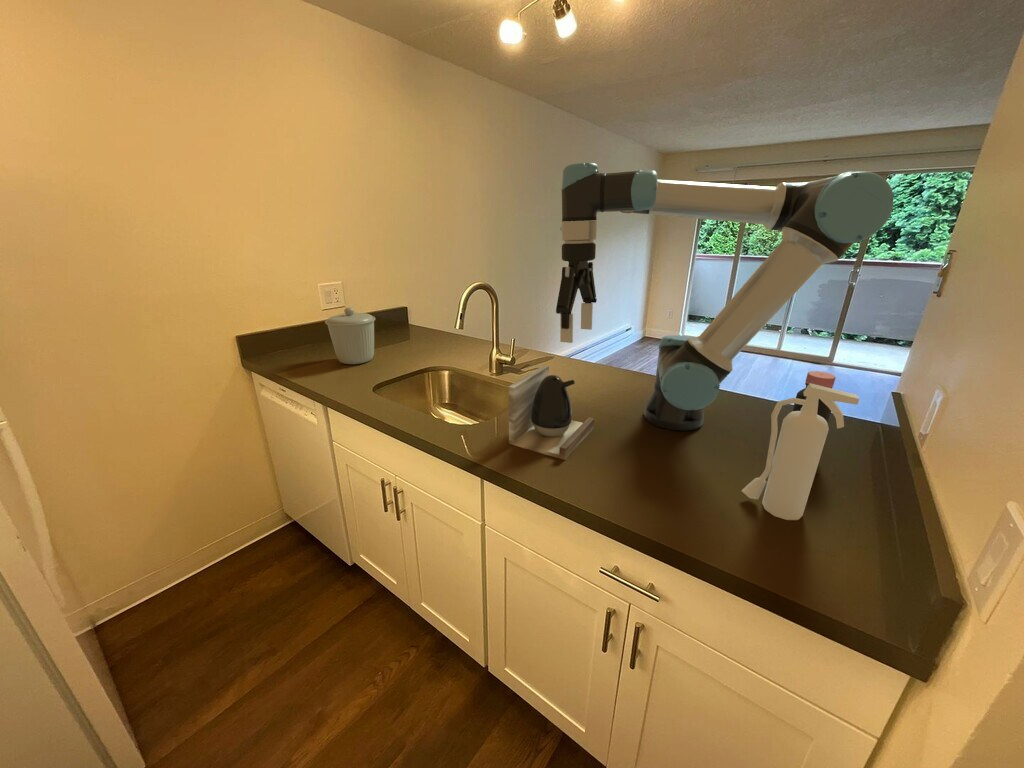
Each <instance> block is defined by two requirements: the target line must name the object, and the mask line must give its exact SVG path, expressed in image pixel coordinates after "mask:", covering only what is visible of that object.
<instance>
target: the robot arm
mask: <svg viewBox="0 0 1024 768" xmlns="http://www.w3.org/2000/svg"><path fill="white" fill-rule="evenodd" d="M894 203H895V202H894V193H893V189H892V186H891V185H890V184H889V182H888V181H887V180H886V179H885V178H884V177H882V176H881V175H880V174H877V173H875V172H871V171H859V170H858V171H857V170H854V171H853V170H851V171H845V172H843V173H841V174H838V175H836V176H831V177H826V178H825V177H824V178H822V179H818V180H817V179H816V180H812V181H806V182H804V181H803V182H780V183H779V184H777V185H776V186H763V185H762V186H760V185H749V184H748V185H747V184H746V185H745V184H732V183H719V182H718V183H717V182H703V181H702V182H701V181H686V180H685V181H684V180H673V179H672V180H671V179H670V180H669V179H658V173H657V171H656V170H654V169H653V170H650V169H649V170H645V169H644V170H642V169H638V170H632V171H631V170H629V171H620V172H609V173H603V172H600V170H599V166H598V164H597V163H594V162H578V163H572V164H571V163H570V164H568V165H566V166H565V167H564V169H563V170H562V185H561V226H560V229H559V230H560V231H561V240H562V241H563V242H564V243H563V244H561V260H562V261H563V262H568V266H562V268H561V279H560V280H561V281H560V285H559V291H558V295H557V296H558V297H557V302H556V308H555V313H556V314H558V315H560V319H559V320H560V330H559V331H560V333H559V334H560V338H559V339H560V343H567V344H572V343H574V341H573V340H574V339H573V338H574V333H573V332H574V313H573V312H572V311H573V307H574V304H575V301H576V297H577V293H578V290H579V293H580V296H581V299H582V302H581V303H580V304H581V305H580V329H581V330H589V331H590V330H593V312H594V311H593V308H594V307H593V304H596V303H597V293H596V286H595V278H594V262H592V261H594V260H595V259H596V252H597V251H596V248H597V247H596V246H597V244H596V243H595V242H594V241H595V240H596V239H597V214H598V213H604V212H605V213H606V212H608V213H609V212H610V213H611V212H620V213H623V214H638V215H639V214H640V215H641V214H642V215H651V216H652V215H655V216H656V215H657V216H664V217H666V216H667V217H676V218H677V217H678V218H688V219H699V220H708V221H709V220H710V221H712V220H713V221H721V222H731V223H732V222H733V223H744V224H755V225H762V226H764V227H765V230H767V231H778V232H781V234H782V235H781V236H782V240H781V241H780V243H779V244H777V246H776V247H775V248H774V249H773V250H772V252H771V253H770V254H769V255H768V256H767V258H766V259H765V260H764V261H763V262H762V263H761V264H760V265H759V266H758V268H757V269H755V271H754V272H753V274H752V275H751V276H750V277H749V278H748V279H747V281H746V282H745V283H744V284H743V285H742V286H741V288H740V289H739V290H737V292H736V293H735V294H734V295H733V296H732V298H731V299H730V300H729V301H728V302H727V304H725V306H724V307H723V308H722V309H721V311H719V313H718V314H717V315H716V316H715V317H714V319H713V320H712V321H711V322H710V323H709V324H708V326H706V328H705V329H704V330H703V331H702V333H701V334H700V335H698V336H691V335H664V336H663V337H661V339H660V342H659V345H658V349H659V350H658V355H657V356H658V357H657V365H656V371H655V372H656V373H655V379H654V380H655V381H654V386H653V388H654V389H653V391H652V393H651V394H650V396H649V399H648V401H647V402H646V404H645V407H644V412H643V413H644V414H643V415H644V418H645V419H646V420H647V422H649V423H651V424H653V425H655V426H656V427H660V428H662V429H667V430H672V431H692V430H693V431H694V430H697V429H699V428H701V427H702V426H703V424H704V419H705V414H704V410H703V409H704V408H705V407H708V406H709V405H710V404H712V403H713V402H714V401H715V400H716V398H717V397H718V395H719V391H720V387H721V386H720V384H721V383H722V382H723V381H724V380H725V379H726V378H727V377H728V376H729V375H730V373H731V372H732V371H733V370H734V369H733V359H735V358H736V356H737V355H739V353H741V351H742V350H743V349H744V348H745V347H746V346H747V345H748V344H749V343H750V342H751V340H752V339H753V338H755V336H757V334H758V333H759V332H760V331H761V330H762V329H763V328H764V327H765V325H767V323H768V322H769V321H771V319H773V317H774V316H775V315H776V314H777V313H778V312H779V311H780V310H781V309H782V308H783V306H785V305H786V303H787V302H788V301H790V299H791V298H792V297H793V296H794V295H795V294H796V293H797V292H798V291H799V290H800V289H801V287H802V286H803V285H804V284H806V282H807V281H808V280H809V279H810V278H811V277H812V276H813V275H814V274H815V273H816V271H818V269H819V268H820V267H821V266H823V265H824V264H830V263H835V262H837V261H838V260H839V259H841V257H842V256H843V255H844V254H845V253H846V252H847V251H848V250H849V249H850V248H851V247H852V246H853V245H854V243H859V242H861V241H864V240H866V239H868V238H869V237H871V236H873V235H875V234H876V233H878V231H880V230H881V229H882V228H883V227H884V226H885V225H886V223H887V222H888V220H889V218H890V216H891V214H892V213H893V208H894Z"/></svg>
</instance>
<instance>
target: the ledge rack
mask: <svg viewBox="0 0 1024 768" xmlns="http://www.w3.org/2000/svg"><path fill="white" fill-rule="evenodd" d="M549 369H550V366H549V365H542V366H541V367H539V368H537V369H536V370H534V371H531V373H529V374H527V375H525V376H524V377H522V378H521V379H518V380H517V381H516V382H514V383H512V384H510V385H509V386H508V388H507V390H508V444H509V445H512V446H516V447H519V448H522V449H526V450H529V451H531V452H534V453H535V452H536V453H539V454H542V455H546V456H549V457H553V458H556V459H559V460H563V461H566V460H567V459H568V458H569V457H570V456H571V455H572V454H573V452H574V451H575V450H576V449H577V448H578V447H579V446H580V444H581V443H583V441H584V440H585V439H586V438H587V437H588V436H589V435H590V434H591V432H592V431H593V430H594V429H595V428H594V427H595V418H594V417H590V416H589V417H588V418H587V419H585V421H583V422H581V421H576V420H573V419H572V422H571V423H570V425H569V428H568V429H567V431H566V432H565V433H563V434H562V435H559V436H555V437H548V436H544V435H542V434H540V433H539V432H538V431H537V430H536V429H535V428H534V425H533V422H532V421H531V411H532V405H533V401H534V397H535V394H536V392H537V389H538V387H539V385H540V383H541V382H542V380H543V379H544V378H545V377H547V376H549V375H550V373H549V372H550V370H549Z"/></svg>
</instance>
